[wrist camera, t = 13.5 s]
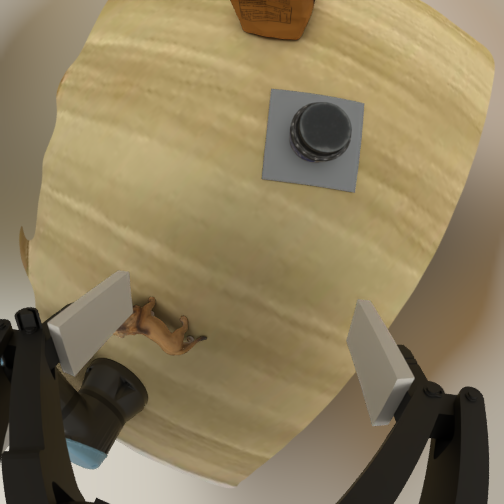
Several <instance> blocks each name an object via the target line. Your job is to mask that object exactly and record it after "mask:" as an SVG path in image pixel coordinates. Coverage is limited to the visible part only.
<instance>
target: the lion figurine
mask: <svg viewBox="0 0 504 504" xmlns="http://www.w3.org/2000/svg"><path fill="white" fill-rule="evenodd" d="M148 301H149V302H150V303H148V304H146V305H145V306H144V307H143V308H141V307H140V306H137V305H134V306H132V307H133V313H132V314H131V315H130V316H129V317H128V318H127V320H126V321H125V322H124V323H123V324H122V325H121V326H120V327H119V328H118V329H117V330H116V331H115V332H114V333H113V334H114V335H117V337H120V338H123V337H124V336H125V335H129V334H131V335H135V334H143V335H145V336H147V337H148V338H150V339H151V340H153V341H155V342H156V343H157V344H158V345H159V346H160V347H161V348H162V350H163V351H164V352H166V353H167V354H170V355H181V354H184V353H186V352H187V351H189V350H190V349H191V348H192V347H193V346H194V345H195V344H196V343H197V342H199V341H202V340H206V339H207V338H206V337H204V336H202V337H200V338H197V339H196V340H195V341H194V338H193V337H191V336H188V337H187V341H188V342H183V339H184V333H185V332H186V331H187V330H188V325H187V324H188V320H187V318H186V317H185V316H181V318H180V321H181V322H182V323H183V326H182V327H181V328H179V329H177V330H175V331H174V332H173V333H171V332H170V331H169V329H168V328H167V326H166V325H165V324H164V323H163V322H162V321H161V320H160V319H158V318H156V317H154V312H153V311H151V310H152V308H153V307H154V306H155V299H154V297H150V298H149V300H148ZM183 348H184V349H183Z"/></svg>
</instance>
